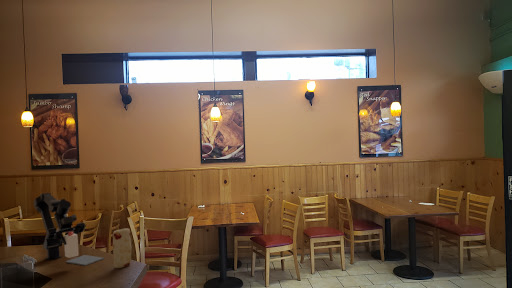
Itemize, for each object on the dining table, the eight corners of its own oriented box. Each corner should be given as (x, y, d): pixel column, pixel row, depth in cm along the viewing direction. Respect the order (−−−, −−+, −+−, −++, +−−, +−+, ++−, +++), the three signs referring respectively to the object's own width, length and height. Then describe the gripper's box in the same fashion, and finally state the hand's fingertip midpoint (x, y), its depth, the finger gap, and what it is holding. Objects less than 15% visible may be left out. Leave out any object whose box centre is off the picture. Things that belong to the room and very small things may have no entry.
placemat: (65, 262, 206) (65, 261, 206) (84, 256, 217) (84, 254, 217) (85, 265, 199) (85, 264, 199) (103, 258, 210) (103, 257, 210)
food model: (117, 270, 189) (115, 231, 189) (111, 268, 194) (109, 229, 193) (134, 265, 197) (133, 227, 196) (128, 262, 201) (126, 226, 201)
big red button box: (65, 256, 196) (63, 232, 196) (74, 253, 200) (73, 230, 200) (68, 257, 193) (67, 234, 193) (78, 255, 197) (77, 231, 196)
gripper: (46, 213, 193) (55, 238, 186) (83, 207, 207) (92, 230, 199) (42, 226, 199) (50, 251, 191) (78, 220, 212) (87, 242, 205)
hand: (71, 243), depth 196 cm, fingers closed on big red button box, 5 cm apart
